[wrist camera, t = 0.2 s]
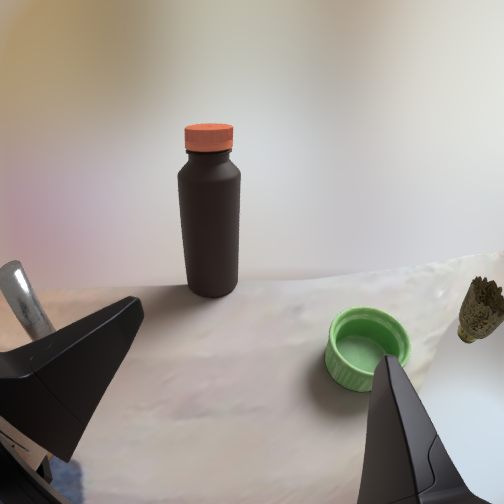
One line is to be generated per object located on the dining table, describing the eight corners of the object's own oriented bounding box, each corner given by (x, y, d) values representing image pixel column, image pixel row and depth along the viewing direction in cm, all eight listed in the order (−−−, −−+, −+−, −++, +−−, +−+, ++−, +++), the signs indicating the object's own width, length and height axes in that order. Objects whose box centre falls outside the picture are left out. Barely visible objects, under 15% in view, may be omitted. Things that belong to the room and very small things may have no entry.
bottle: (240, 297, 34) (246, 131, 23) (186, 299, 33) (170, 133, 22) (235, 265, 40) (239, 122, 28) (188, 266, 39) (179, 123, 27)
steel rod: (64, 378, 21) (2, 286, 14) (48, 365, 22) (-9, 276, 15) (78, 359, 24) (26, 265, 16) (63, 348, 24) (13, 257, 17)
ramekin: (316, 330, 30) (325, 303, 28) (385, 331, 30) (398, 306, 27) (321, 398, 23) (334, 377, 20) (401, 393, 22) (421, 371, 20)
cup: (438, 319, 31) (463, 275, 26) (468, 315, 31) (492, 274, 27) (459, 360, 25) (492, 316, 20) (489, 351, 25) (519, 310, 20)
